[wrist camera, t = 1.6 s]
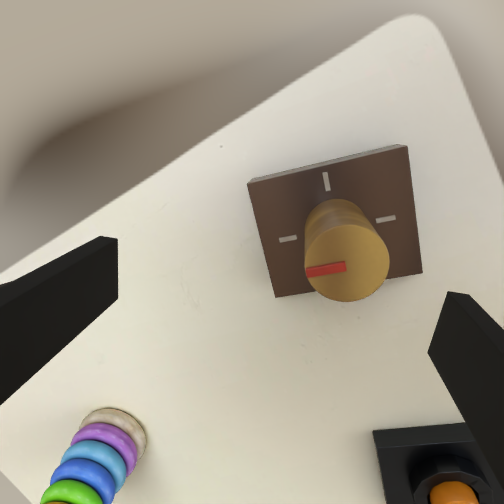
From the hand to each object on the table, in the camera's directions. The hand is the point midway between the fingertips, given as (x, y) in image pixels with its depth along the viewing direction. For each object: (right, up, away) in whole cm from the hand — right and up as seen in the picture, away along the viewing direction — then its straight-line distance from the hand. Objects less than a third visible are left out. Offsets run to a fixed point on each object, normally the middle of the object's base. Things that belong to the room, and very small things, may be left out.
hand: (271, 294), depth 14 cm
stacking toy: (-17, -20, +29) cm, 38 cm away
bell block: (+19, -20, +23) cm, 36 cm away
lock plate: (+6, +4, +17) cm, 18 cm away
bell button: (+18, -22, +20) cm, 35 cm away
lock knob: (+6, +3, +14) cm, 15 cm away
